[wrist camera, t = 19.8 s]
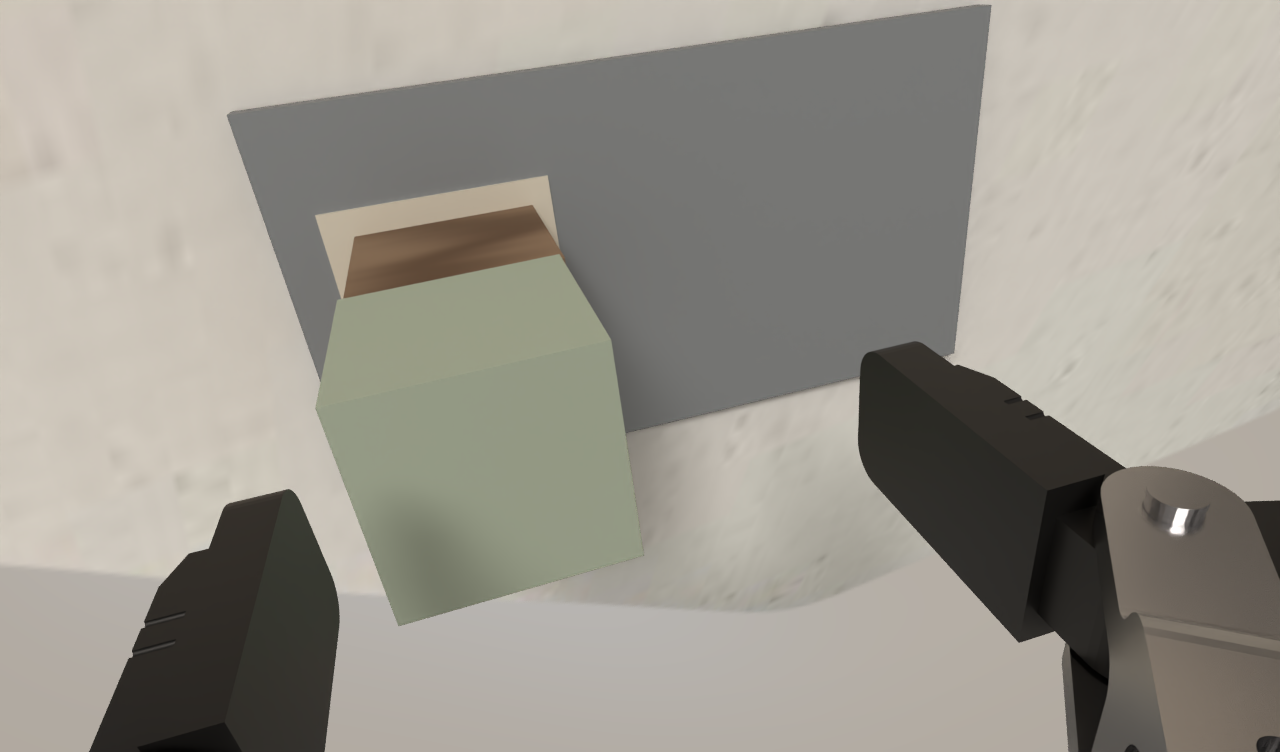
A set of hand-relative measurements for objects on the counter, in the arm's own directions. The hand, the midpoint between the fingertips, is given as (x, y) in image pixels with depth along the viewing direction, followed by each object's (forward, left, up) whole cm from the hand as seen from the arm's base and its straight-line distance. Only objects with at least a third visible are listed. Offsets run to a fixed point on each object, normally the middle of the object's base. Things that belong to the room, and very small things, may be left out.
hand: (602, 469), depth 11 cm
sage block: (+2, +2, -8) cm, 8 cm away
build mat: (-5, +2, -14) cm, 15 cm away
